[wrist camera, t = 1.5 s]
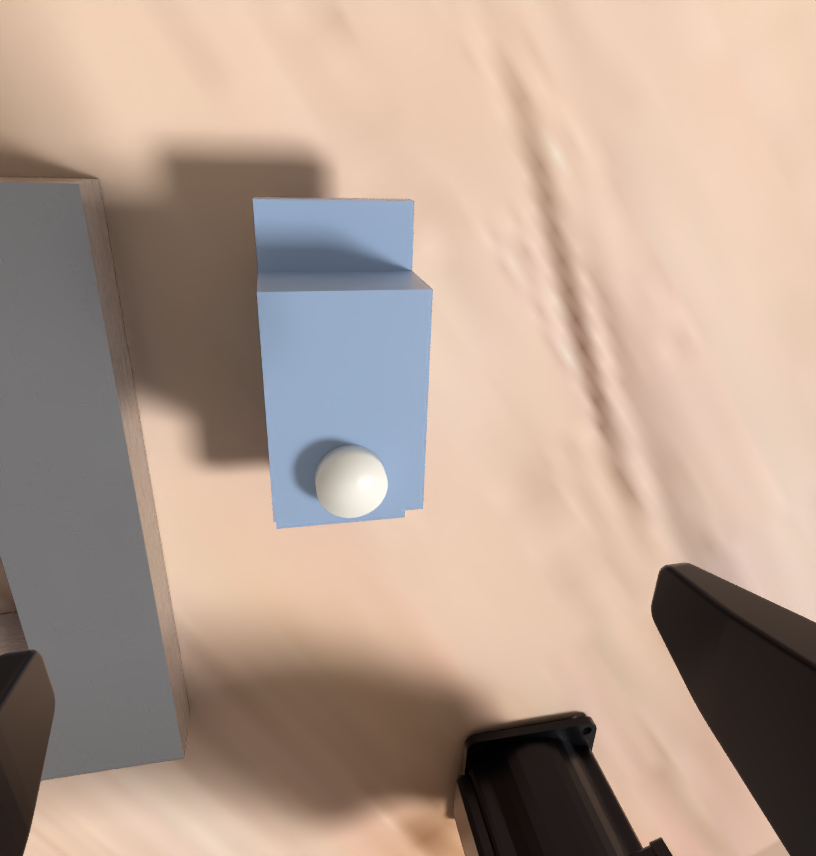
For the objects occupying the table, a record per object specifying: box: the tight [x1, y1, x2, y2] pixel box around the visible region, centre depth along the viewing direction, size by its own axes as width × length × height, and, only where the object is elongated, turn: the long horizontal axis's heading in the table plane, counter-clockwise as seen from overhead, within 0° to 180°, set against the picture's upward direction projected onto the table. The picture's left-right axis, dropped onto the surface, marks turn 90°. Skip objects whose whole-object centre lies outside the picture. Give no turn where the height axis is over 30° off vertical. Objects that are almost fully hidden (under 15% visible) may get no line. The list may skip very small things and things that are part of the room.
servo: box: [253, 197, 433, 529], centre depth 17 cm, size 4×10×6 cm, turn 178°
